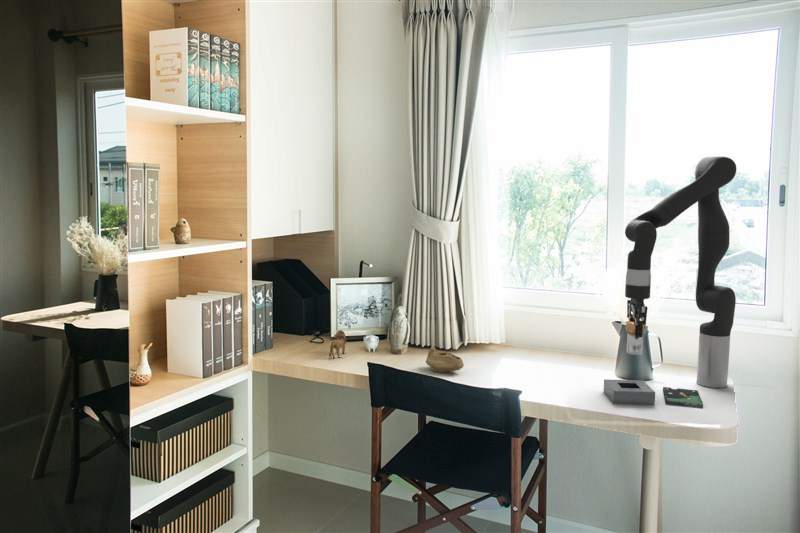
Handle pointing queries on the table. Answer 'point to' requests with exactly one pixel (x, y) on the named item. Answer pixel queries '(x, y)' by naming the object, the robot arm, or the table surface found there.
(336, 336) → the lion figurine
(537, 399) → the table surface
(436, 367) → the oil lamp
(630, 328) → the capped jar
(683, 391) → the disk drive
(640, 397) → the housing
